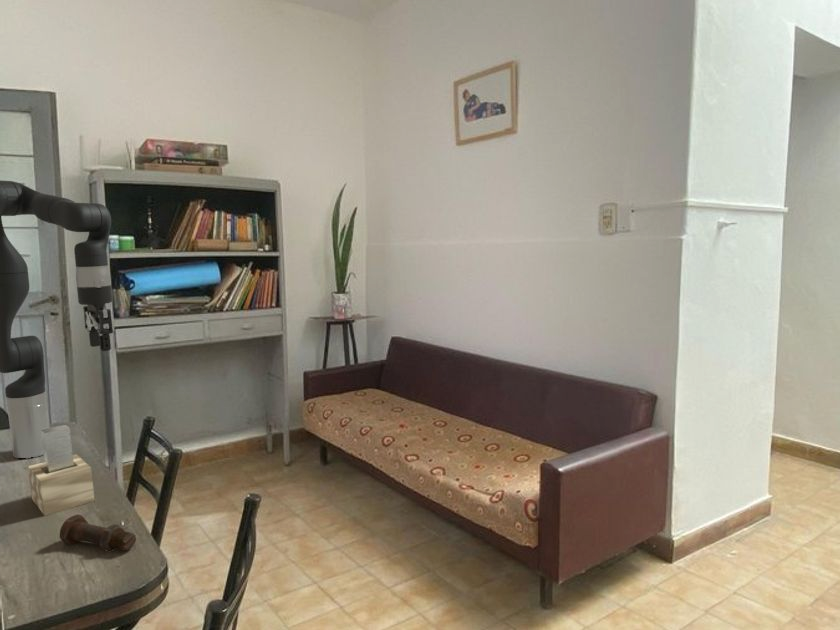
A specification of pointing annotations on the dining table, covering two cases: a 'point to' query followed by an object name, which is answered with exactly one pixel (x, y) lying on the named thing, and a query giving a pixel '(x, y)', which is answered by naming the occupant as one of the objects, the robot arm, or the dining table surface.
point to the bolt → (96, 534)
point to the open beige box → (61, 486)
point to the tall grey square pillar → (57, 448)
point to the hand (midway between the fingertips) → (100, 348)
